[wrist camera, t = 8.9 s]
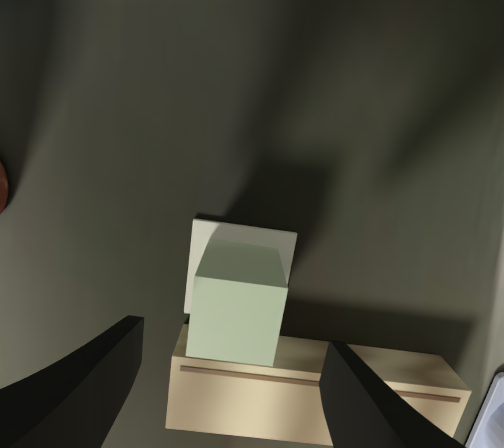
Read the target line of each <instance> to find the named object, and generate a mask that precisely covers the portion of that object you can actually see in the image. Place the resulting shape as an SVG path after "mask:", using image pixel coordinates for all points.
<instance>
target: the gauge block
mask: <svg viewBox="0 0 504 448" xmlns="http://www.w3.org/2000/svg"><path fill="white" fill-rule="evenodd" d="M287 292H288V286H287V282H286V278H285V274H284V271H283V267H282V263H281V259H280V255H279V252H278V248H274V247H266V246H259V245H252V244H245V243H238V242H230V241H223V240H216V239H209V240H208V243H207V245H206V248H205V250H204V253H203V255H202V258H201V261H200V263H199V266H198V268H197V271H196V273H195V276H194V284H193V293H192V302H191V312H190V321H189V330H188V339H187V348H186V356H189V357H197V358H205V359H214V360H222V361H231V362H239V363H247V364H256V365H264V366H273V362H274V357H275V352H276V347H277V342H278V337H279V332H280V327H281V322H282V317H283V312H284V307H285V302H286V297H287Z"/></svg>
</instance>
